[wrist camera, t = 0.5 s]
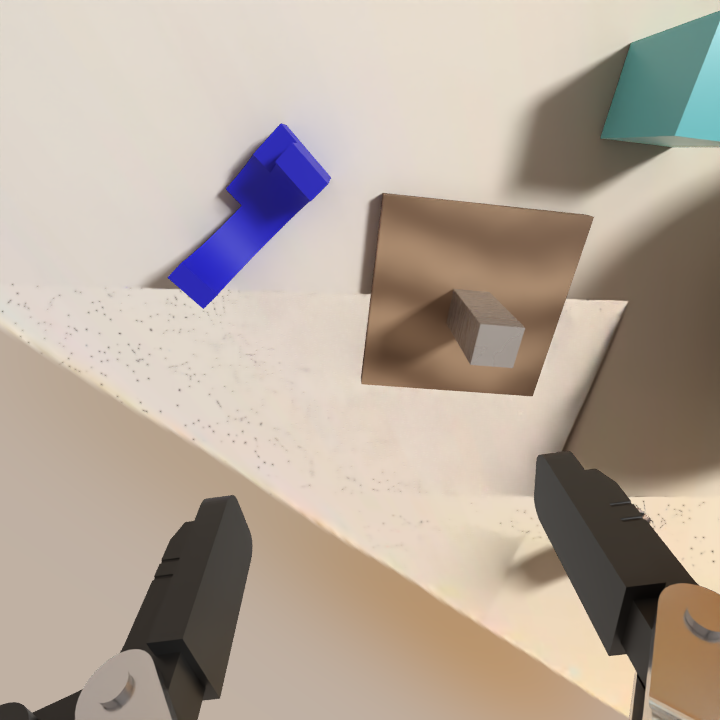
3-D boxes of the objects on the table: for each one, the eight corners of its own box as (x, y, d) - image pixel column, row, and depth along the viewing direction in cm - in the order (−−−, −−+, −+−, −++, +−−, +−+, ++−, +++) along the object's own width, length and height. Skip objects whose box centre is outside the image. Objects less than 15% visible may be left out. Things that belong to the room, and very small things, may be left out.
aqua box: (630, 42, 27) (724, 9, 21) (709, 54, 28) (826, 24, 21) (600, 138, 30) (674, 136, 23) (672, 147, 30) (766, 147, 24)
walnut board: (382, 193, 31) (384, 194, 30) (585, 214, 32) (594, 217, 31) (361, 377, 38) (361, 384, 37) (527, 389, 40) (532, 396, 38)
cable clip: (286, 125, 29) (273, 120, 24) (331, 177, 31) (328, 183, 25) (180, 242, 32) (148, 261, 27) (225, 283, 34) (203, 308, 29)
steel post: (453, 288, 33) (480, 324, 27) (489, 292, 34) (525, 327, 27) (446, 323, 35) (470, 364, 28) (480, 326, 35) (512, 368, 28)
